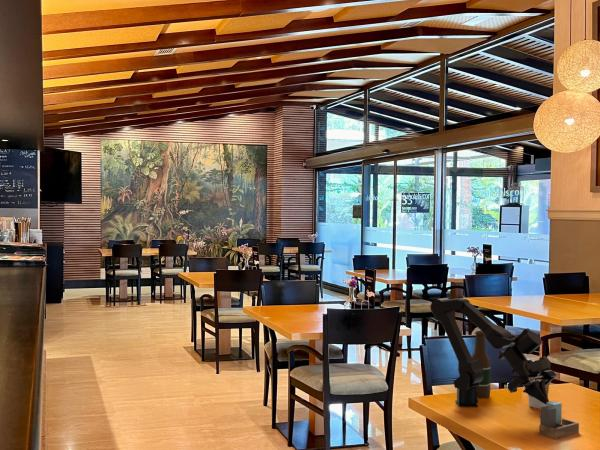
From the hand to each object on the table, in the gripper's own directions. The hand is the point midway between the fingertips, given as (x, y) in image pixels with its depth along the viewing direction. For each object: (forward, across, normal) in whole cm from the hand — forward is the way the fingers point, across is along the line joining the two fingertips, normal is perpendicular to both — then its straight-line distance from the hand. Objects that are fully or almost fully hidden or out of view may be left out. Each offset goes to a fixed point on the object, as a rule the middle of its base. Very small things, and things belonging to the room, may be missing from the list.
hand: (547, 403), depth 212 cm
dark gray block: (+8, -7, +2) cm, 11 cm away
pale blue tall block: (+7, 0, +3) cm, 8 cm away
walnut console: (+10, -3, 0) cm, 10 cm away
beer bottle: (-21, +10, +31) cm, 38 cm away
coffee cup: (-6, +17, +16) cm, 25 cm away
